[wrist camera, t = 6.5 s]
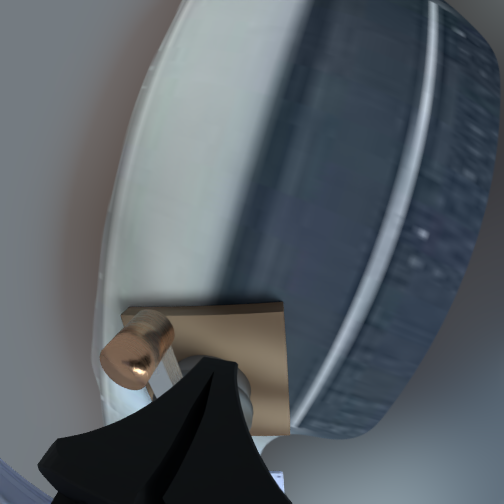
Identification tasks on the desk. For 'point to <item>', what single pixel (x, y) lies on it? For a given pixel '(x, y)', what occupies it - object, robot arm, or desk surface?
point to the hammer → (143, 354)
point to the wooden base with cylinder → (237, 354)
